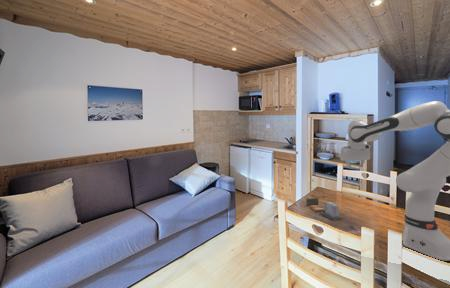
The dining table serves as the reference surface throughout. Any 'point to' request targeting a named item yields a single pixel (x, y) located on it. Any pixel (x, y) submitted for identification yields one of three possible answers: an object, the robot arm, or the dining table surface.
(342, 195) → the dining table surface
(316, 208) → the rack
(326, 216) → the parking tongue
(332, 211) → the medicine box
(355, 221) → the dining table surface
